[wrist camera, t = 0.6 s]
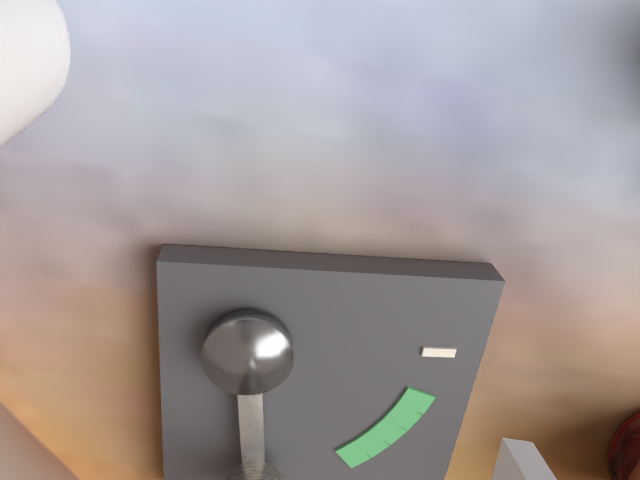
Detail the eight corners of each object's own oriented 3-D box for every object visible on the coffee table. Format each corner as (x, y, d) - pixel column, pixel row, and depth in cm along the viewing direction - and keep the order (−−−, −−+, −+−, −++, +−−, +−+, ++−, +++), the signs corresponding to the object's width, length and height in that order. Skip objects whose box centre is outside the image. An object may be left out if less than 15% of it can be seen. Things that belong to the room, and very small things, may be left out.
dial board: (163, 243, 28) (155, 263, 27) (491, 263, 31) (506, 283, 29) (169, 481, 37) (164, 509, 35) (427, 483, 39) (436, 510, 37)
